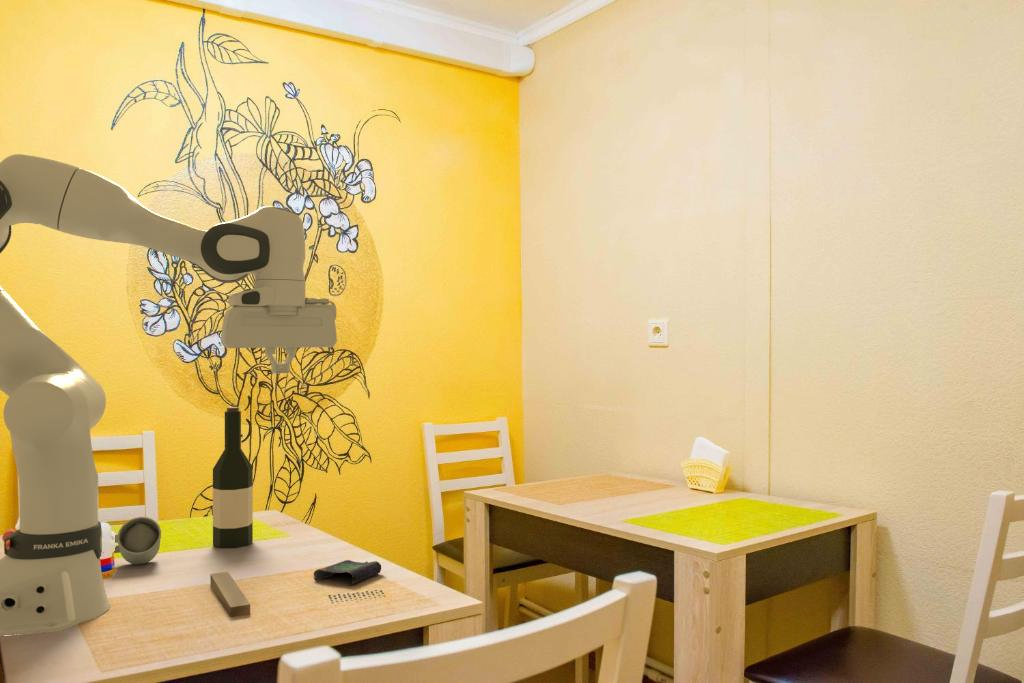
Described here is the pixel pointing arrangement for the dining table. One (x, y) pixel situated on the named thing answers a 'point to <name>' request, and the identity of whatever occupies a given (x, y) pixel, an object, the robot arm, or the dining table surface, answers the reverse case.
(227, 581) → the bar
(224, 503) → the wine bottle
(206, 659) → the dining table surface
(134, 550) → the ceramic mug
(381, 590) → the woven mat
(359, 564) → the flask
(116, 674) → the dining table surface
